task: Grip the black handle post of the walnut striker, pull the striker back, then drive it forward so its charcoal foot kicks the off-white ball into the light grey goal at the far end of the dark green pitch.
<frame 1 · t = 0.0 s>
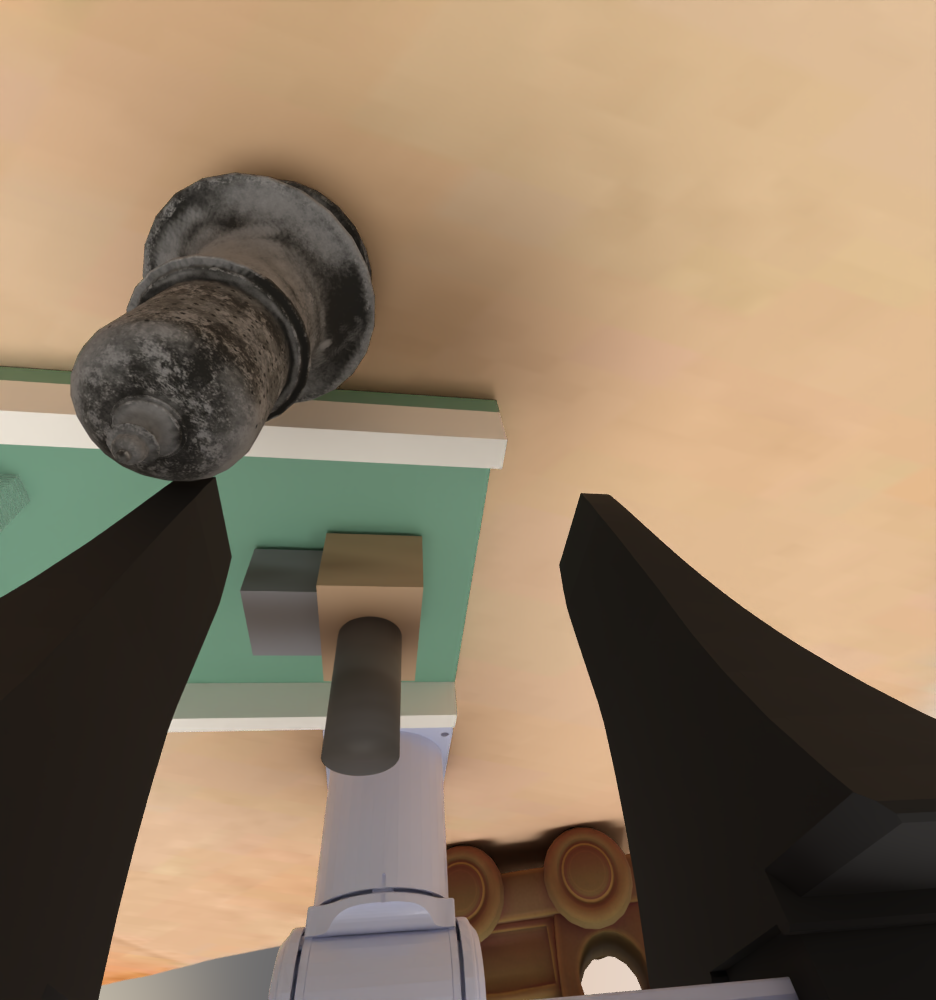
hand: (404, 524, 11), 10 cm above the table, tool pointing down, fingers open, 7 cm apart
striker: (329, 657, 21), point 5 cm above the table, slide at 2.0 cm
salt shaker: (289, 273, 17), on the table, touching gripper
pitch: (185, 561, 24), on the table
wooden toy train: (526, 852, 49), on the table
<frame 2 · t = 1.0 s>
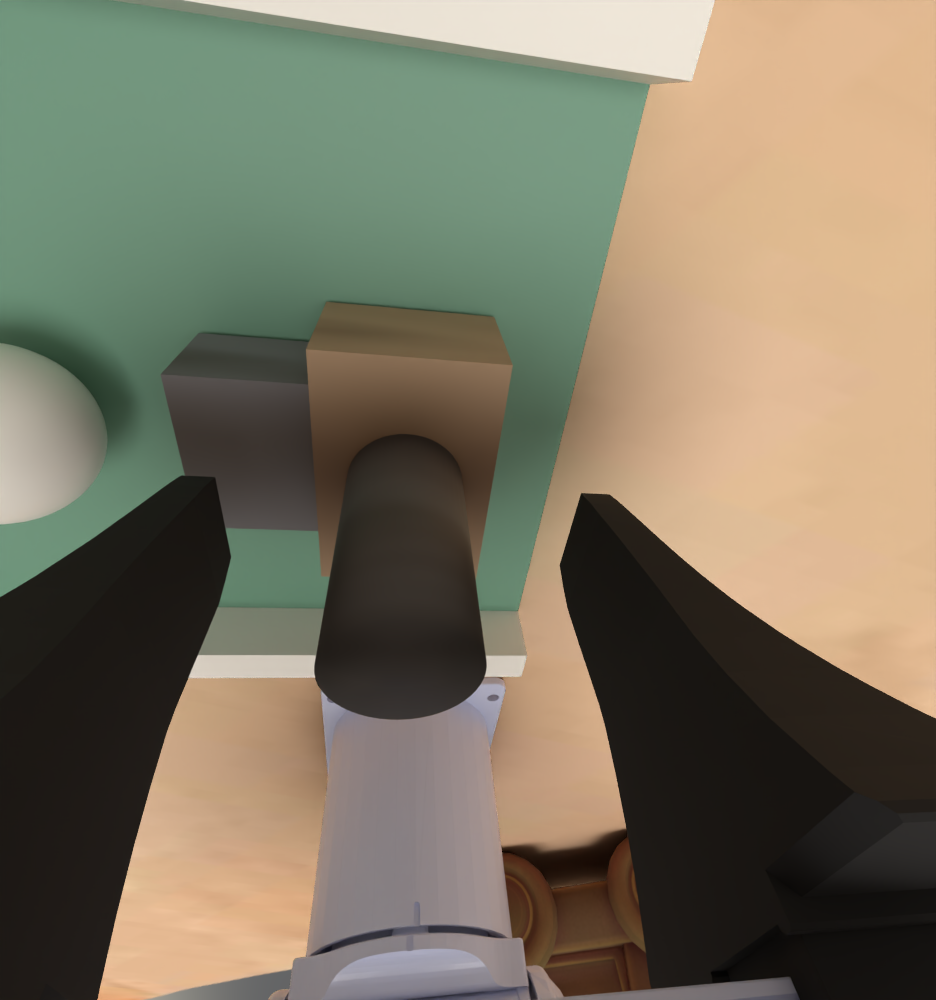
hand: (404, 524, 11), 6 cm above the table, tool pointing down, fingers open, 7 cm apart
striker: (332, 508, 11), point 5 cm above the table, slide at 2.0 cm
pitch: (88, 379, 14), on the table
wooden toy train: (576, 861, 39), on the table
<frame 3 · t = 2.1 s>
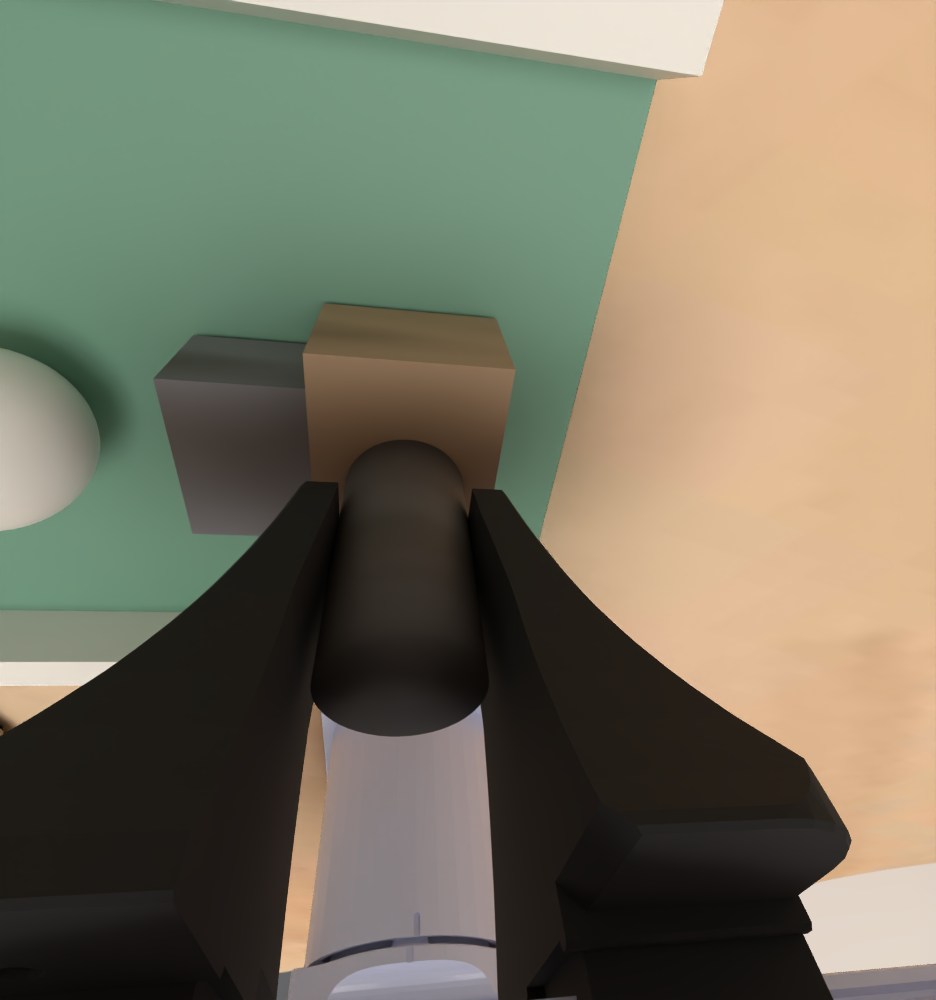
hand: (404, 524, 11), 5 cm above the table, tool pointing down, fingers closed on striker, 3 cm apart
striker: (330, 515, 11), point 5 cm above the table, slide at 2.0 cm, touching gripper
pitch: (81, 382, 14), on the table
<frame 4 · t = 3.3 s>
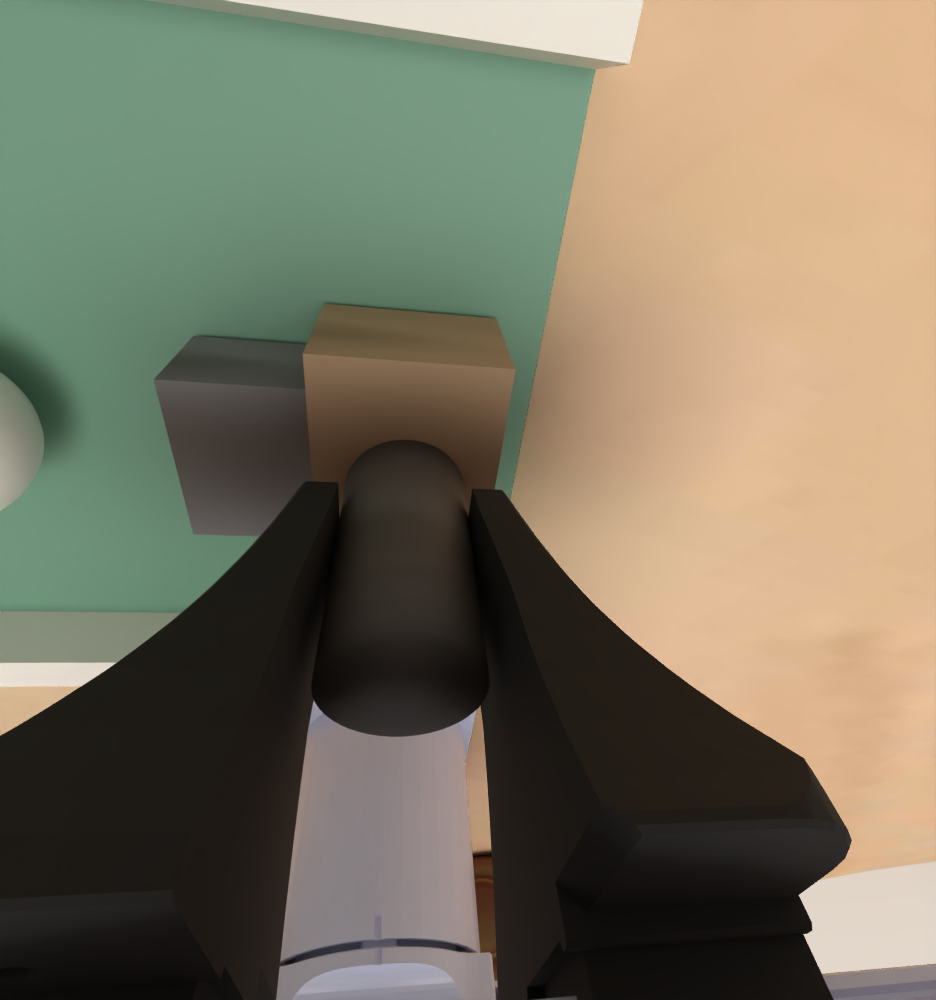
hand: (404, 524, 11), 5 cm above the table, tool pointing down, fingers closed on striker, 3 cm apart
striker: (330, 516, 11), point 5 cm above the table, slide at 0.8 cm, touching gripper
pitch: (30, 380, 14), on the table
wooden toy train: (562, 864, 38), on the table
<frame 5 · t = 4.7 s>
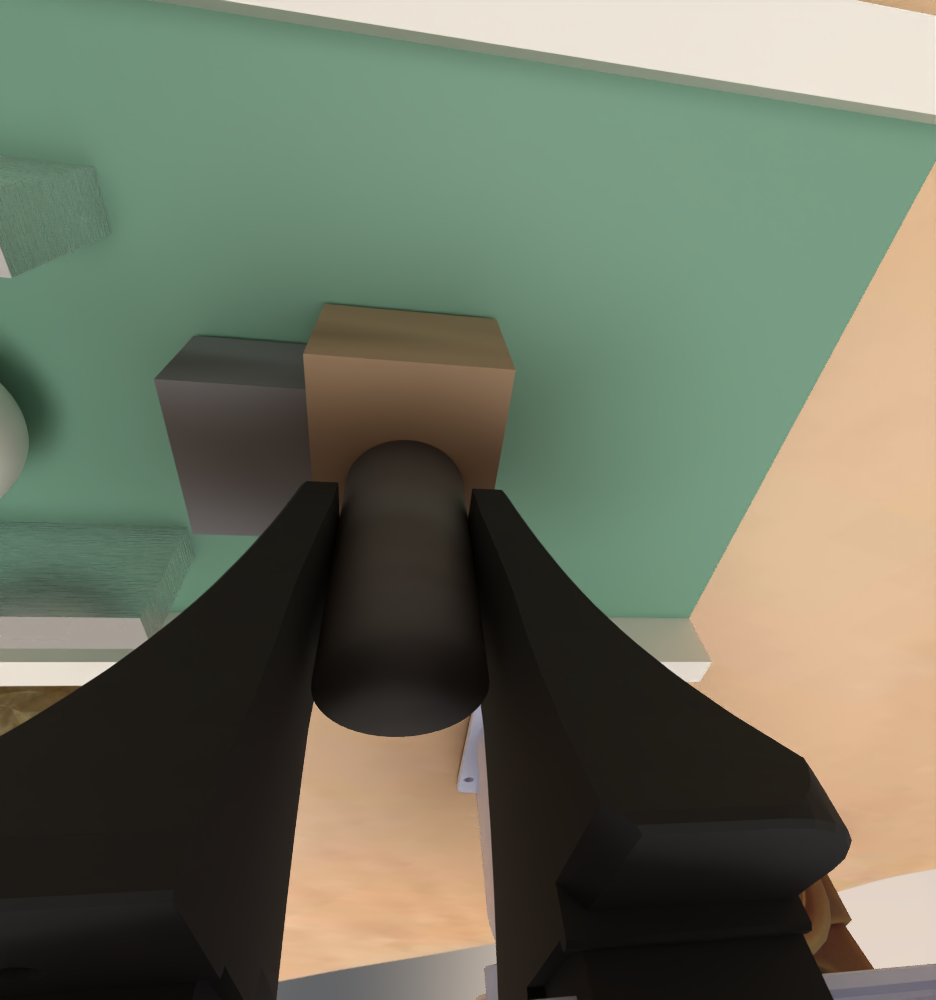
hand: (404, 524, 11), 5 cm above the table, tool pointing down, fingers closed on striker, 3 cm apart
striker: (330, 516, 11), point 5 cm above the table, slide at 8.7 cm, touching gripper
pitch: (341, 400, 15), on the table
pastry: (31, 710, 23), on the table
wooden toy train: (664, 859, 39), on the table
goal: (27, 379, 14), resting on pitch
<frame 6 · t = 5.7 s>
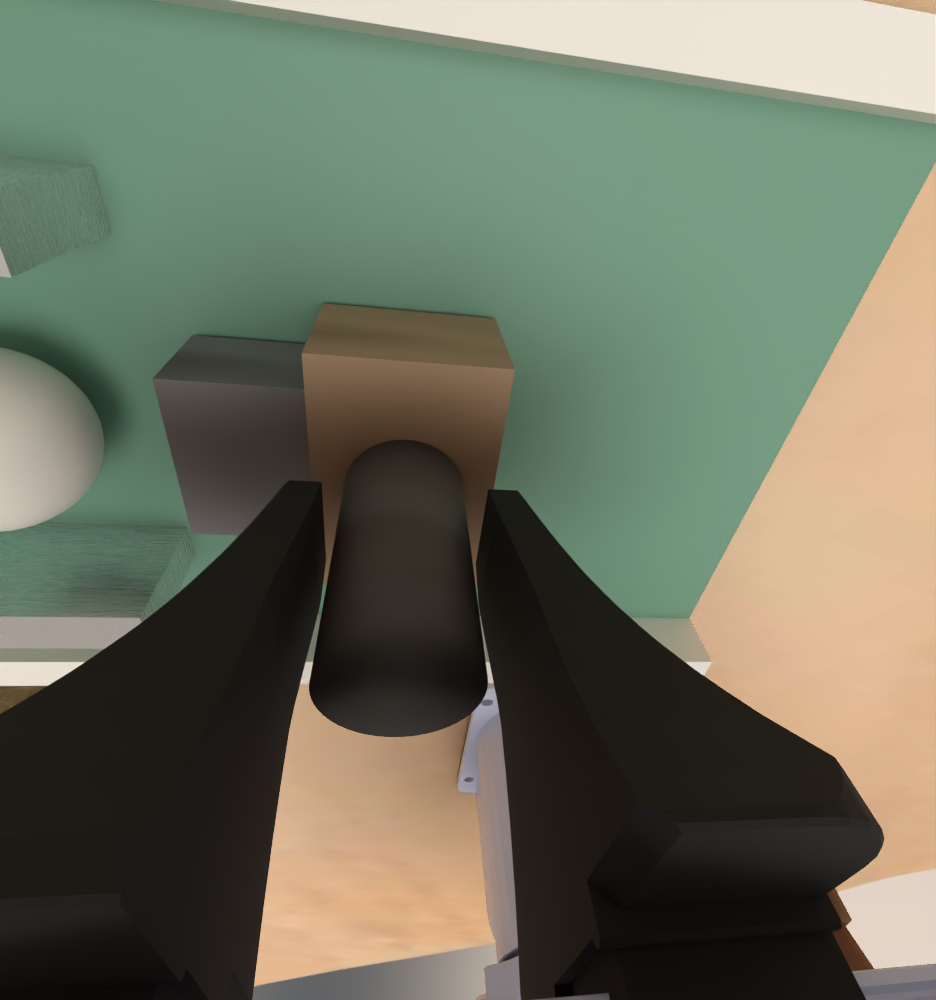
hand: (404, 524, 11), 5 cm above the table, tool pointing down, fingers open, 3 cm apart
striker: (329, 515, 11), point 5 cm above the table, slide at 8.7 cm
pitch: (341, 399, 15), on the table
pastry: (29, 707, 23), on the table
wooden toy train: (664, 858, 39), on the table
goal: (27, 379, 14), resting on pitch
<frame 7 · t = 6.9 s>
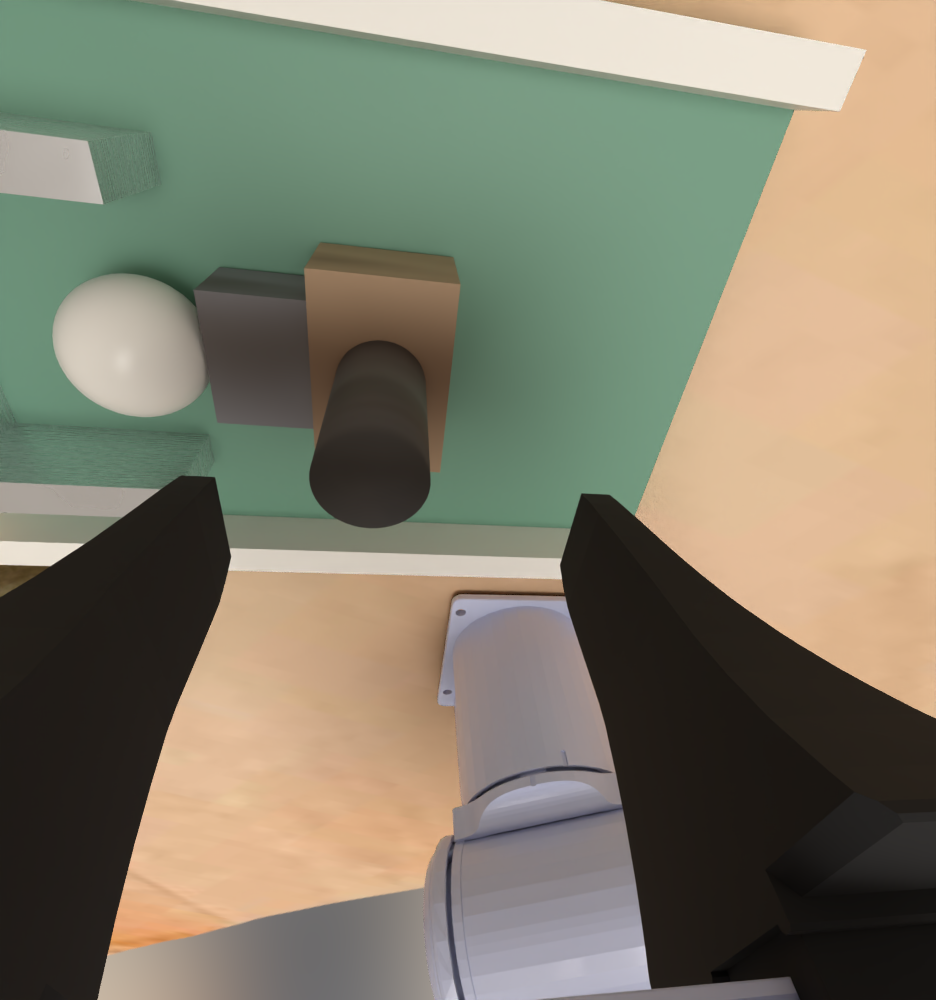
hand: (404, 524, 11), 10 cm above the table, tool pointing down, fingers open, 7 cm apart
striker: (323, 395, 14), point 5 cm above the table, slide at 8.7 cm
pitch: (334, 328, 19), on the table
pastry: (65, 608, 26), on the table
ball: (139, 347, 15), point 3 cm above the table, tilted 133°, touching pitch
goal: (85, 306, 17), resting on pitch
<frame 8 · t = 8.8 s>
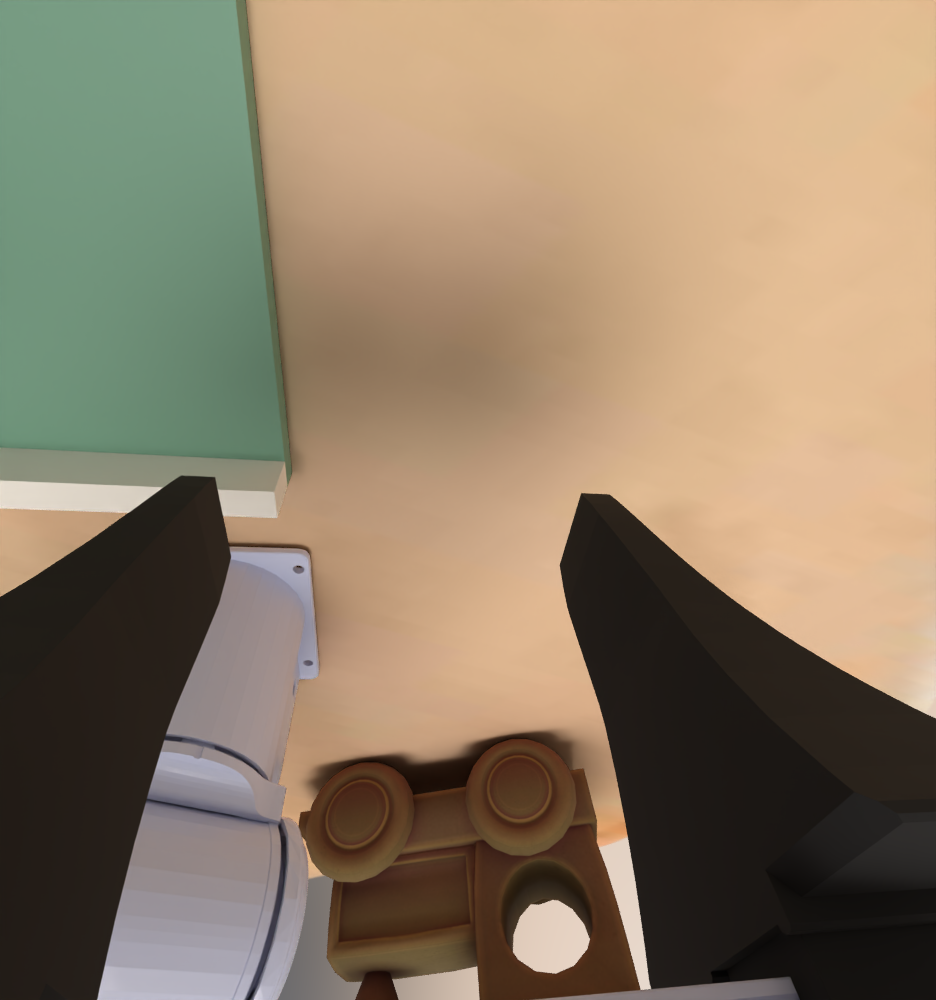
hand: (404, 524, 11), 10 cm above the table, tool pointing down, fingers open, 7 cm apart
wooden toy train: (454, 777, 39), on the table
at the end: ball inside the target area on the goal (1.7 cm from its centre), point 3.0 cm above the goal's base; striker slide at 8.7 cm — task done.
